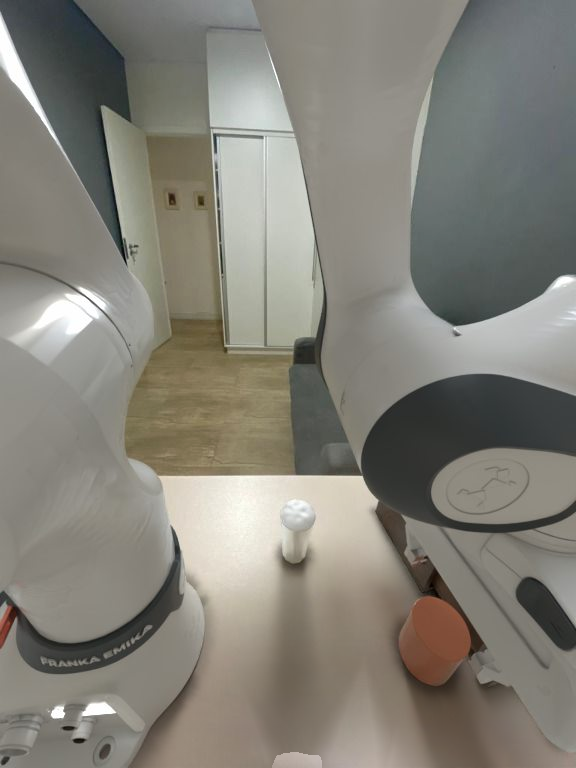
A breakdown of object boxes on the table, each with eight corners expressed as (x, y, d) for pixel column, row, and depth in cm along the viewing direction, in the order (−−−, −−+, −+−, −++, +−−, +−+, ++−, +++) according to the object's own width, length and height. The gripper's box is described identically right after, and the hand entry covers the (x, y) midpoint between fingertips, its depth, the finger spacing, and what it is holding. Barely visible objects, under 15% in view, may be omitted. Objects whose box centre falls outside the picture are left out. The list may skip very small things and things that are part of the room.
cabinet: (506, 570, 43) (530, 536, 39) (421, 592, 40) (439, 557, 36) (446, 498, 53) (460, 465, 50) (375, 511, 50) (385, 477, 47)
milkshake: (266, 556, 43) (268, 507, 38) (292, 531, 46) (297, 484, 41) (290, 580, 40) (296, 531, 35) (316, 552, 44) (324, 504, 39)
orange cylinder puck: (463, 677, 33) (484, 651, 30) (417, 693, 31) (434, 669, 28) (430, 617, 37) (445, 590, 34) (388, 629, 36) (401, 603, 33)
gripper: (393, 427, 30) (363, 518, 37) (643, 714, 13) (504, 788, 20) (446, 422, 32) (409, 511, 39) (730, 673, 15) (575, 755, 22)
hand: (442, 607), depth 29 cm, fingers open, 8 cm apart
